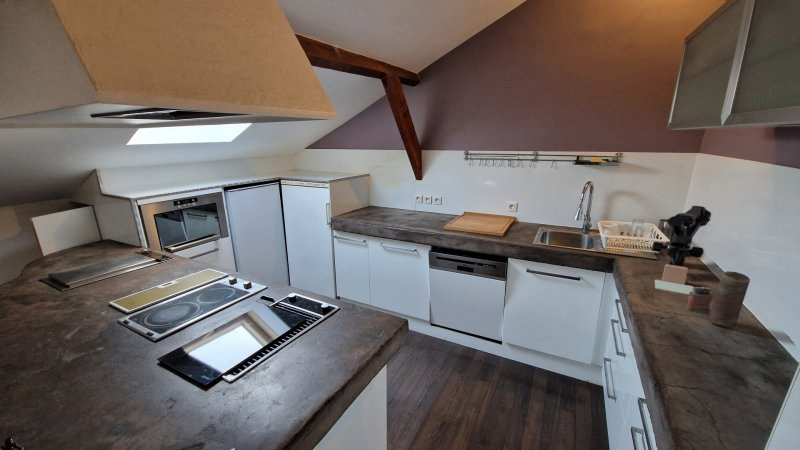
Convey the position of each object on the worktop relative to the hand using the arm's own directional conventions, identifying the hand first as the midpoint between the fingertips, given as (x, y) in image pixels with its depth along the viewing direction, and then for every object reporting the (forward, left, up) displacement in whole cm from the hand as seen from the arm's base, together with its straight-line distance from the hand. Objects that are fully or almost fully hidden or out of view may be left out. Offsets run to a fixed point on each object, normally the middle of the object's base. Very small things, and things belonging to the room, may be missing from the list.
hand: (675, 265), depth 156 cm
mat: (+11, 0, -7) cm, 13 cm away
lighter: (+29, +6, -7) cm, 31 cm away
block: (+4, 0, -7) cm, 8 cm away
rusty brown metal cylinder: (+37, +12, -7) cm, 40 cm away
